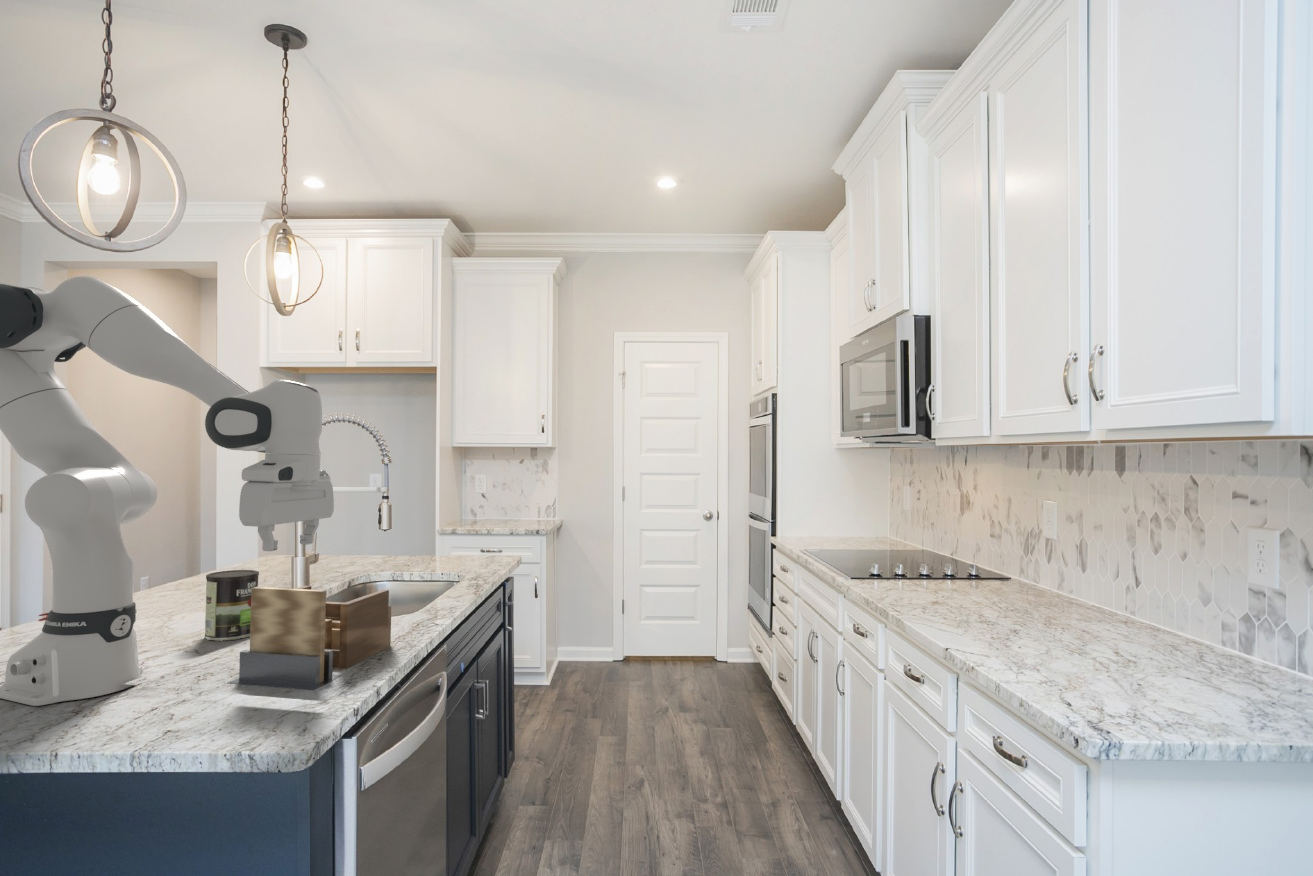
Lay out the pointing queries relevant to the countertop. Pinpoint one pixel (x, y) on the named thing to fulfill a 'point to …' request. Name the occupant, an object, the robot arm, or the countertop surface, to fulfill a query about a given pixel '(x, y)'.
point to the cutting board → (288, 622)
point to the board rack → (360, 627)
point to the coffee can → (229, 604)
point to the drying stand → (284, 670)
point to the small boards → (332, 634)
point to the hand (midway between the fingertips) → (288, 547)
